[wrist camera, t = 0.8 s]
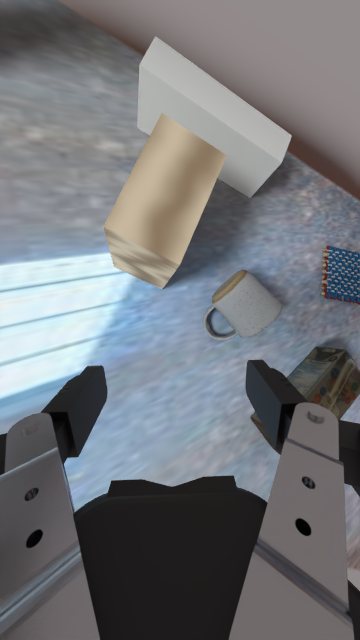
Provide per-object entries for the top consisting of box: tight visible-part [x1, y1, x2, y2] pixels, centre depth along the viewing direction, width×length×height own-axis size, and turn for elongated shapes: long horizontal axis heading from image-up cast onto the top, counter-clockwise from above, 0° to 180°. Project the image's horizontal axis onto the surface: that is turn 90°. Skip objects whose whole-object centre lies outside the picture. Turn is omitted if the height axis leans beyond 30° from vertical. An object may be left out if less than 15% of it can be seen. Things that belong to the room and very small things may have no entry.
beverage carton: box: [251, 347, 360, 455], centre depth 34 cm, size 8×19×7 cm, turn 129°
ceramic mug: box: [203, 270, 282, 340], centre depth 31 cm, size 11×8×8 cm
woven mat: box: [320, 246, 360, 304], centre depth 40 cm, size 10×11×2 cm
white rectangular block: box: [137, 36, 292, 198], centre depth 31 cm, size 22×5×8 cm, turn 67°
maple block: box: [104, 113, 227, 289], centre depth 27 cm, size 8×14×12 cm, turn 157°
